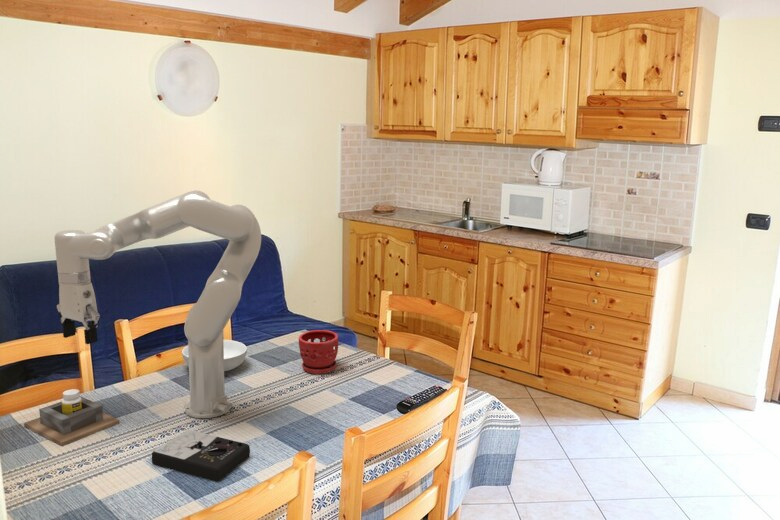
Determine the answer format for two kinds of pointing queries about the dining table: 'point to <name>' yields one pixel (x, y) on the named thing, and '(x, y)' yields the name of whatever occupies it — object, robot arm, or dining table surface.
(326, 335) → the plant pot
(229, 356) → the serving bowl
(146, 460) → the dining table surface
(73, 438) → the pocket board
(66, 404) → the supplement bottle
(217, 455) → the multimeter
